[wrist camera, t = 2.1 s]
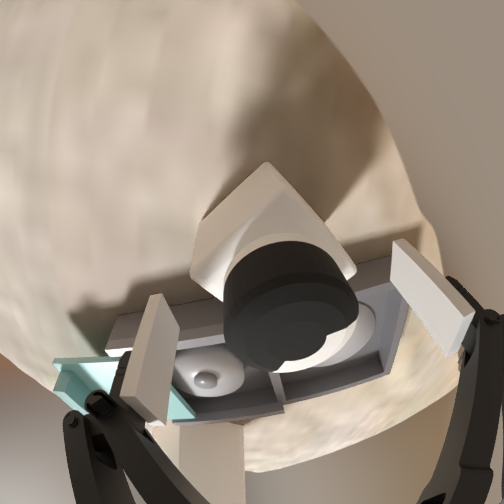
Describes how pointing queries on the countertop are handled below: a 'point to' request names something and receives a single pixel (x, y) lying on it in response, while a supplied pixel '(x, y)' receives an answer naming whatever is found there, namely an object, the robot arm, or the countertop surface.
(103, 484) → the robot arm
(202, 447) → the milk
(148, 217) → the countertop surface
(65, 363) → the lid
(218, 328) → the housing
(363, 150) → the countertop surface
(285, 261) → the medicine bottle
